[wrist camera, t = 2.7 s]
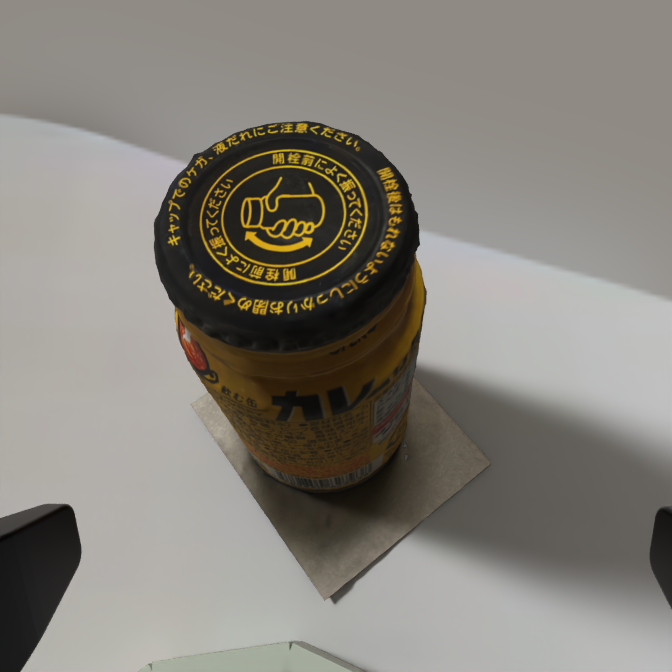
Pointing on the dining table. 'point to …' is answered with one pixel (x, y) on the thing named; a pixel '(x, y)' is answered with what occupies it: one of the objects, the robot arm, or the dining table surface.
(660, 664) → the dining table surface
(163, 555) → the dining table surface
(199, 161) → the condiment
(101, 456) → the dining table surface
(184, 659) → the round tray
